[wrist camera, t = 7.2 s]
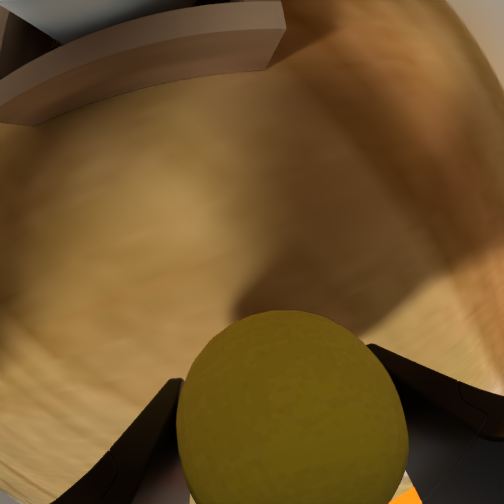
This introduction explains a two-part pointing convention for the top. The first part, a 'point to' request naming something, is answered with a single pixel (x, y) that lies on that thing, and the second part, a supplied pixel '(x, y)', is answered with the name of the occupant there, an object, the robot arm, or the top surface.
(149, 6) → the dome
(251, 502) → the lemon
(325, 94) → the top surface
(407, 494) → the orange juice
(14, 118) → the brown wooden tray
